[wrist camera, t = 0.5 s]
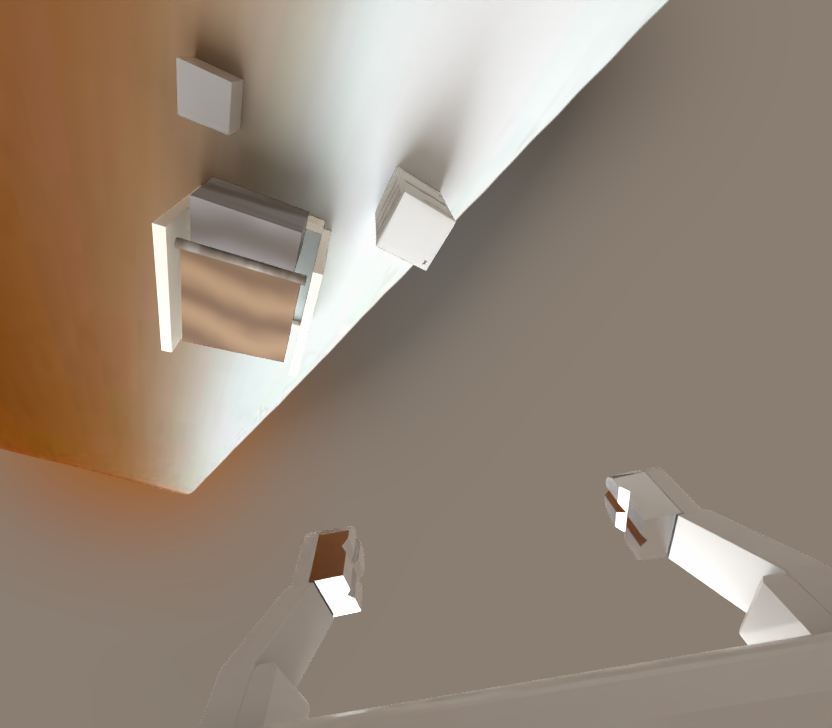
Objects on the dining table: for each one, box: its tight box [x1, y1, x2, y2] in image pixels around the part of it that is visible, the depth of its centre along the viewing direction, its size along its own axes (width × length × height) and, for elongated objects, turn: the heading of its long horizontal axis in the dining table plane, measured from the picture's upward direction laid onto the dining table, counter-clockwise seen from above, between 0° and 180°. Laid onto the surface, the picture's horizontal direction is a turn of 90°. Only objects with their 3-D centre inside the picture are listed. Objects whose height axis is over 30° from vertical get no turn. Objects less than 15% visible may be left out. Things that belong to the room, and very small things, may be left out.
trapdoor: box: [174, 177, 309, 362], centre depth 44 cm, size 20×14×7 cm
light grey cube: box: [176, 57, 244, 135], centre depth 38 cm, size 5×5×5 cm
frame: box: [152, 185, 331, 377], centre depth 48 cm, size 20×18×14 cm
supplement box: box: [375, 166, 456, 270], centre depth 45 cm, size 7×7×13 cm
